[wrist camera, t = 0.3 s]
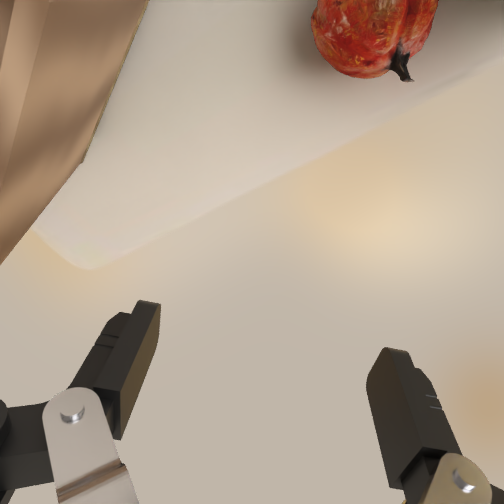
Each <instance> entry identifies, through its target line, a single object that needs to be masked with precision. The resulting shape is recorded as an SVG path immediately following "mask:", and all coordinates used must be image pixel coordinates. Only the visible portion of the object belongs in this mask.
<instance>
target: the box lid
mask: <svg viewBox="0 0 504 504" xmlns="http://www.w3.org/2000/svg"><path fill="white" fill-rule="evenodd" d="M148 2H149V0H15V2H14V7H13V11H12V16H11V21H10V26H9V31H8V35H7V40H6V45H5V50H4V55H3V59H2V64H1V69H0V265H1V264H2V262H3V261H4V260H5V258H6V257H7V256H8V255H9V253H10V252H11V251H12V249H13V248H14V247H15V245H16V244H17V243H18V242H19V240H20V239H21V238H22V237H23V236H24V234H25V233H26V232H27V230H28V229H29V228H30V227H31V225H32V224H33V223H34V222H35V220H36V219H37V218H38V216H39V215H40V214H41V213H42V211H43V210H44V209H45V207H46V206H47V205H48V204H49V202H50V201H51V200H52V199H53V197H54V196H55V195H56V193H57V192H58V191H59V190H60V188H61V187H62V186H63V185H64V183H65V182H66V181H67V179H68V178H69V177H70V176H71V174H72V173H73V172H74V171H75V169H76V168H77V167H78V165H79V164H80V163H83V160H84V158H85V156H86V153H87V151H88V148H89V146H90V143H91V141H92V138H93V136H94V134H95V131H96V129H97V126H98V124H99V121H100V119H101V117H102V114H103V112H104V109H105V107H106V104H107V102H108V100H109V97H110V95H111V92H112V90H113V87H114V85H115V83H116V80H117V78H118V75H119V73H120V70H121V68H122V66H123V63H124V61H125V58H126V56H127V53H128V51H129V49H130V46H131V44H132V41H133V39H134V36H135V34H136V31H137V29H138V27H139V24H140V22H141V19H142V17H143V14H144V12H145V10H146V7H147V5H148Z"/></svg>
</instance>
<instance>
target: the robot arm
mask: <svg viewBox="0 0 504 504" xmlns="http://www.w3.org/2000/svg"><path fill="white" fill-rule="evenodd" d="M160 313H161V304H159V303H153V302H148V301H143V300H139V301H138V302H137V304H136V306H135V307H134V309H133V311H132V313H131V314H129V313H123V312H119V313H118V314H117V315H115V316H114V317H113V318H111V319H110V320H109V321H108V322H107V324H106V325H105V327H104V329H103V330H102V332H101V334H100V336H99V337H98V339H97V340H96V342H95V345H94V346H93V347H92V349H91V351H90V352H89V354H88V356H87V357H86V359H85V361H84V362H83V364H82V366H81V368H80V369H79V371H78V373H77V374H76V376H75V378H74V379H73V381H72V383H71V384H70V386H69V387H68V388H67V389H66V390H64V391H62V392H60V393H58V394H57V395H55V396H54V397H53V398H52V399H51V400H50V401H47V402H44V403H41V404H35V405H27V406H19V407H11V408H7V407H6V404H5V403H4V402H3V401H2V400H0V504H8V503H9V501H10V499H11V497H12V495H13V493H14V491H15V489H18V488H23V487H29V486H33V485H39V484H44V483H50V482H55V486H56V492H57V496H58V502H59V504H139V501H138V499H137V496H136V493H135V490H134V487H133V484H132V481H131V478H130V475H129V473H128V470H127V468H126V466H125V464H122V463H121V461H120V458H119V456H118V452H117V449H116V446H115V444H114V441H113V439H115V440H121V438H122V436H123V433H124V430H125V428H126V426H127V423H128V420H129V418H130V415H131V412H132V410H133V407H134V405H135V402H136V400H137V397H138V394H139V392H140V389H141V387H142V384H143V382H144V379H145V376H146V374H147V371H148V369H149V366H150V363H151V361H152V358H153V356H154V353H155V350H156V346H157V343H158V337H159V327H160ZM366 391H367V395H368V400H369V404H370V408H371V412H372V416H373V420H374V425H375V429H376V433H377V437H378V441H379V445H380V449H381V454H382V458H383V462H384V466H385V470H386V474H387V479H388V483H389V487H390V488H395V489H400V490H404V494H405V498H406V499H405V500H404V501H403V502H402V504H504V491H503V490H501V489H499V488H497V487H495V486H493V485H492V484H490V483H489V481H488V480H487V478H486V476H485V475H484V473H483V472H482V471H481V469H480V468H479V467H478V466H477V465H476V464H475V463H473V462H472V461H471V460H469V459H468V458H466V457H464V456H463V455H462V453H461V451H460V448H459V446H458V444H457V441H456V439H455V437H454V434H453V432H452V430H451V427H450V425H449V423H448V420H447V418H446V416H445V413H444V411H443V410H442V406H441V404H440V402H439V400H438V399H437V395H436V392H435V390H434V388H433V385H432V383H431V381H430V380H429V379H428V378H427V376H426V375H425V374H424V373H423V372H422V371H421V369H419V368H415V367H414V365H413V362H412V360H411V357H410V355H409V353H408V352H407V351H403V350H398V349H393V348H388V347H385V348H383V349H382V351H381V352H380V354H379V356H378V358H377V360H376V362H375V363H374V365H373V367H372V369H371V371H370V372H369V374H368V377H367V382H366Z"/></svg>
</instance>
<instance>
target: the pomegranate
mask: <svg viewBox="0 0 504 504" xmlns="http://www.w3.org/2000/svg"><path fill="white" fill-rule="evenodd" d="M438 1H439V0H318V2H317V7H316V8H315V10H314V12H313V15H312V17H311V28H312V32H313V35H314V41H315V44H316V46H317V49H318V50H319V51H320V53H321V55H322V56H323V58H324V59H326V60H327V61H328V62H329V63H330V64H331V65H332V67H333V68H335V69H336V70H337V71H339V72H341V73H343V74H345V75H348V76H351V77H356V78H363V79H368V78H375V77H379V76H382V75H383V74H385V73H386V72H388V71H389V70H393V71H394V72H396V73H397V74H398V75H399V76H400V80H401V81H403V82H413V81H414V80H412V79H411V78H410V75H409V73H408V70H407V66H406V64H407V62H408V60H409V59H410V58H411V57H412V56H413V55H415V54H416V53H417V52H418V51H420V50H421V49H422V47H423V45H424V42H425V40H426V39H427V37H428V35H429V33H430V30H431V26H432V22H433V19H434V14H435V11H436V9H437V6H438Z"/></svg>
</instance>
